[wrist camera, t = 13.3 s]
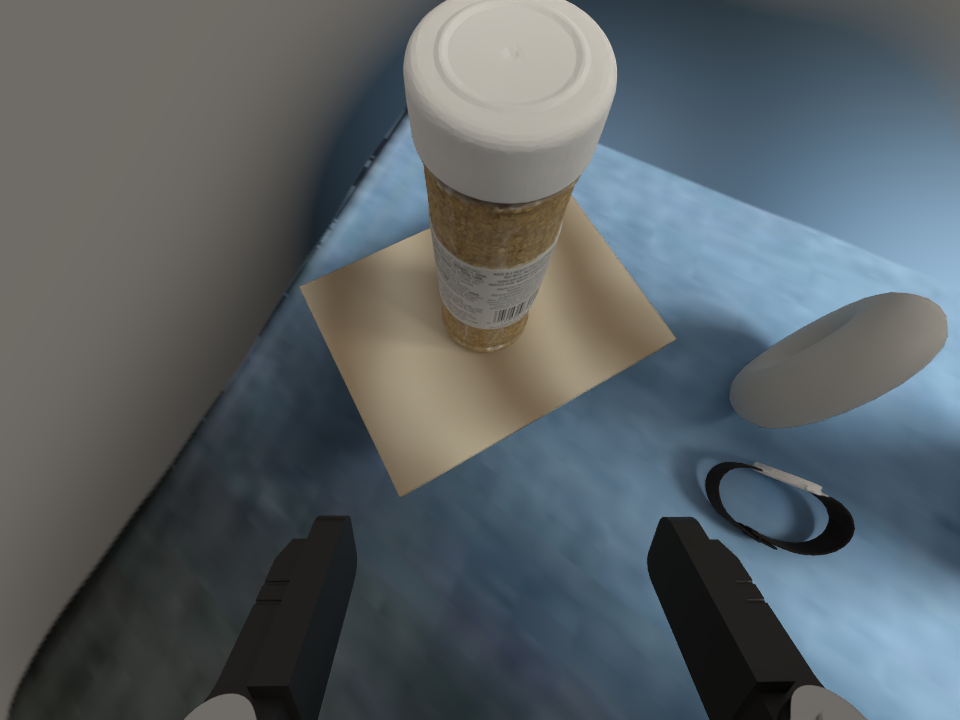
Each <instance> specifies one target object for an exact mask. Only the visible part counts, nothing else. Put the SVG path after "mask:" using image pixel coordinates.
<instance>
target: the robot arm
mask: <svg viewBox="0 0 960 720" xmlns="http://www.w3.org/2000/svg"><path fill="white" fill-rule="evenodd" d="M647 565H648V572H649V576H650V579H651V582H652V584H653V586H654V589H655V591H656V594H657V596H658V598H659V601H660V603H661V606H662V608H663V610H664V613H665V615H666V617H667V620H668V622H669V625H670V627H671V629H672V632H673V634H674V636H675V639H676V641H677V644H678V646H679V648H680V651H681V653H682V655H683V658H684V660H685V663H686V665H687V667H688V670H689V672H690V674H691V677H692V679H693V682H694V684H695V686H696V689H697V691H698V694H699V696H700V698H701V701H702V703H703V705H704V708H705V710H706V713H707V715H708V717H709V720H867V719H866V718H865V717H864V716H863V715H862V714H861V713H860V712H859V711H858V710H857V709H856V708H855V707H854V706H853V705H851V704H850V703H849V702H847V701H846V700H845V699H843V698H842V697H840V696H839V695H837V694H836V693H834V692H832V691H830V690H828V689H825V688H824V686H823V685H822V684H821V683H820V682H819V680H818V679H817V678H816V676H815V675H814V673H813V672H812V670H811V669H810V667H809V666H808V664H807V663H806V661H805V660H804V658H803V657H802V655H801V654H800V652H799V651H798V649H797V647H796V646H795V644H794V643H793V641H792V640H791V638H790V637H789V635H788V634H787V632H786V631H785V629H784V628H783V626H782V625H781V623H780V621H779V620H778V618H777V617H776V615H775V614H774V612H773V611H772V609H771V608H770V606H769V605H768V603H765V601H764V597H763V596H762V594H761V592H760V591H759V589H758V588H757V586H756V585H755V584H753V583H752V579H751V577H750V576H749V574H748V573H747V571H746V570H745V568H744V567H743V565H742V563H741V562H740V560H739V559H738V558H737V557H736V556H735V555H734V554H733V553H732V552H731V551H730V550H729V549H728V548H726V547H725V546H724V545H723V544H722V543H721V542H720V541H719V540H709V538H708V536H707V535H706V533H705V532H704V530H703V528H702V527H701V525H700V524H699V522H698V521H697V520H696V519H695V518H693V517H662V518H661V519H660V521H659V523H658V526H657V529H656V532H655V535H654V538H653V541H652V544H651V546H650V549H649V552H648V557H647ZM356 568H357V552H356V546H355V541H354V535H353V529H352V523H351V518H350V516H318V517H317V518H316V520H315V521H314V523H313V526H312V528H311V531H310V533H309V536H308V538H307V539H293V540H292V541H291V542H290V543H289V544H288V545H287V546H286V547H285V548H284V549H283V551H282V552H281V553H280V554H279V555H278V556H277V557H276V558H275V560H274V563H273V565H272V567H271V569H270V571H269V573H268V575H267V577H266V580H265V584H264V585H263V586H262V588H261V590H260V592H259V594H258V597H257V599H256V603H255V605H253V607H252V609H251V611H250V614H249V616H248V618H247V620H246V622H245V624H244V626H243V628H242V631H241V633H240V635H239V637H238V639H237V641H236V643H235V645H234V648H233V650H232V652H231V654H230V656H229V658H228V660H227V662H226V665H225V667H224V669H223V671H222V673H221V675H220V677H219V679H218V681H217V683H216V685H215V687H214V689H213V690H212V691H211V693H210V694H209V696H208V697H207V698H206V700H205V701H204V702H203V703H202V704H201V705H200V706H199V707H197V708H196V709H195V710H194V711H192V712H191V713H190V714H189V715H188V716H187V717H186V718H185V719H184V720H318V716H319V712H320V709H321V705H322V701H323V697H324V694H325V690H326V686H327V682H328V678H329V675H330V671H331V667H332V663H333V659H334V656H335V652H336V648H337V644H338V641H339V637H340V633H341V629H342V625H343V622H344V618H345V614H346V610H347V607H348V603H349V599H350V595H351V591H352V588H353V584H354V580H355V575H356Z"/></svg>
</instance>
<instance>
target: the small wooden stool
mask: <svg viewBox="0 0 960 720" xmlns="http://www.w3.org/2000/svg"><path fill="white" fill-rule="evenodd" d="M300 289H301V292H302V294H303V296H304V298H305V300H306V302H307V304H308V306H309V308H310V310H311V312H312V315H313V317H314V319H315V321H316V323H317V325H318V327H319V329H320V331H321V333H322V335H323V338H324V340H325V342H326V344H327V346H328V348H329V350H330V352H331V354H332V356H333V358H334V361H335V363H336V365H337V367H338V369H339V371H340V373H341V375H342V377H343V379H344V381H345V384H346V386H347V388H348V390H349V392H350V394H351V396H352V398H353V400H354V402H355V404H356V407H357V409H358V411H359V413H360V415H361V417H362V419H363V421H364V423H365V425H366V427H367V430H368V432H369V434H370V436H371V438H372V440H373V442H374V444H375V446H376V448H377V450H378V453H379V455H380V457H381V459H382V461H383V463H384V465H385V467H386V469H387V471H388V473H389V476H390V478H391V480H392V482H393V484H394V486H395V488H396V490H397V492H398V494H399V496H400V497H401V496H405V495H406V494H408V493H410V492H412V491H413V490H415V489H417V488H419V487H420V486H422V485H424V484H426V483H427V482H429V481H431V480H433V479H434V478H436V477H438V476H440V475H441V474H443V473H445V472H447V471H448V470H450V469H452V468H454V467H455V466H457V465H459V464H461V463H462V462H464V461H466V460H468V459H469V458H471V457H473V456H475V455H476V454H478V453H480V452H482V451H483V450H485V449H487V448H489V447H490V446H492V445H494V444H496V443H497V442H499V441H501V440H503V439H504V438H506V437H508V436H510V435H511V434H513V433H515V432H517V431H518V430H520V429H522V428H524V427H525V426H527V425H529V424H531V423H532V422H534V421H536V420H538V419H539V418H541V417H543V416H545V415H546V414H548V413H550V412H552V411H553V410H555V409H557V408H559V407H560V406H562V405H564V404H566V403H567V402H569V401H571V400H573V399H575V398H576V397H578V396H580V395H582V394H583V393H585V392H587V391H589V390H590V389H592V388H594V387H596V386H597V385H599V384H601V383H603V382H604V381H606V380H608V379H610V378H611V377H613V376H615V375H617V374H618V373H620V372H622V371H624V370H625V369H627V368H629V367H631V366H632V365H634V364H636V363H638V362H639V361H641V360H643V359H645V358H646V357H648V356H650V355H652V354H653V353H655V352H657V351H659V350H660V349H662V348H664V347H665V346H667V345H668V344H670V343H671V342H673V341H674V340H676V337H675V336H674V335H673V333H672V332H671V331H670V329H669V328H668V326H667V325H666V324H665V322H664V321H663V320H662V318H661V317H660V315H659V314H658V313H657V311H656V310H655V309H654V307H653V306H652V305H651V303H650V302H649V300H648V299H647V298H646V296H645V295H644V294H643V292H642V291H641V289H640V288H639V287H638V285H637V284H636V283H635V281H634V280H633V279H632V277H631V276H630V274H629V273H628V272H627V270H626V269H625V268H624V266H623V265H622V263H621V262H620V261H619V259H618V258H617V257H616V255H615V254H614V253H613V251H612V250H611V248H610V247H609V246H608V244H607V243H606V242H605V240H604V239H603V237H602V236H601V235H600V233H599V232H598V231H597V229H596V228H595V226H594V225H593V224H592V222H591V221H590V220H589V218H588V217H587V216H586V214H585V213H584V211H583V210H582V209H581V207H580V206H579V205H578V203H577V202H576V200H575V199H574V198H573V196H572V195H571V197H570V200H569V203H568V205H567V208H566V211H565V214H564V217H563V222H562V228H561V232H560V235H559V238H558V240H557V243H556V246H555V248H554V251H553V254H552V257H551V259H550V262H549V265H548V267H547V270H546V273H545V275H544V278H543V280H542V283H541V286H540V288H539V291H538V293H537V296H536V299H535V301H534V303H533V305H532V307H531V308H530V310H529V312H528V314H529V316H528V321H527V323H526V326H525V329H524V331H523V333H522V334H521V336H520V337H519V338H518V339H517V340H516V341H515V342H514V343H513V344H511V345H509V346H507V347H506V348H504V349H502V350H498V351H496V352H489V353H486V352H476V351H472V350H469V349H466V348H464V347H461V346H460V345H459V344H458V343H457V342H456V341H454V340H453V339H452V338H451V336H450V335H449V333H448V332H447V330H446V328H445V325H444V323H443V321H442V304H443V303H442V298H441V295H440V291H439V285H438V278H437V271H436V264H435V257H434V250H433V243H432V236H431V229H430V228H429V229H427V230H424V231H422V232H420V233H418V234H416V235H413V236H411V237H409V238H407V239H404V240H402V241H400V242H398V243H396V244H393V245H391V246H389V247H387V248H384V249H382V250H380V251H378V252H376V253H373V254H371V255H369V256H367V257H365V258H362V259H360V260H358V261H356V262H353V263H351V264H349V265H347V266H345V267H342V268H340V269H338V270H336V271H333V272H331V273H329V274H327V275H325V276H322V277H320V278H318V279H316V280H313V281H311V282H309V283H307V284H305V285H302V286H300Z"/></svg>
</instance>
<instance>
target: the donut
mask: <svg viewBox="0 0 960 720" xmlns="http://www.w3.org/2000/svg"><path fill="white" fill-rule="evenodd" d="M947 337H948V325H947V317H946V315H945V313H944V312H943V310H942V309H941V307H940V306H939V305H937V304H936V303H934V302H933V301H931V300H930V299H928V298H925V297H921V296H918V295H915V294H908V293H896V292H890V293H884V294H879V295H875V296H871V297H867V298H864V299H861V300H859V301H856V302H854V303H851V304H849V305H846V306H844V307H842V308H840V309H838V310H836V311H833V312H831V313H829V314H827V315H825V316H823V317H821V318H819V319H818V320H816V321H814V322H812V323H810V324H808V325H806V326H804V327H803V328H801V329H799V330H798V331H796V332H794V333H792V334H791V335H789V336H787V337H786V338H784V339H783V340H781V341H779V342H778V343H776V344H775V345H773V346H772V347H770V348H769V349H767V350H766V351H764V352H763V353H762V354H760V355H759V356H757V357H756V358H755V359H753V360H752V361H751V362H750V363H748V364H747V365H746V366H745V367H744V368H742V370H741V371H740V372H739V373H738V374H737V375H736V377H735V378H734V380H733V381H732V384H731V390H730V395H729V397H730V402H731V405H732V407H733V409H734V410H735V412H736V413H737V414H738V415H739V416H740V417H742V418H743V419H745V420H747V421H749V422H751V423H753V424H755V425H757V426H759V427H764V428H770V429H776V428H792V427H798V426H803V425H807V424H811V423H816V422H820V421H823V420H825V419H828V418H831V417H834V416H837V415H840V414H843V413H846V412H848V411H850V410H852V409H854V408H857V407H859V406H861V405H863V404H866V403H868V402H870V401H872V400H874V399H876V398H878V397H880V396H882V395H883V394H885V393H887V392H889V391H891V390H892V389H894V388H896V387H898V386H899V385H901V384H903V383H904V382H905V381H907V380H908V379H910V378H911V377H912V376H914V375H915V374H916V373H918V372H919V371H921V370H922V369H923V368H924V367H925V366H926V365H927V364H929V363H930V362H931V361H932V359H933V358H934V357H935V356H936V355H937V354H938V353H939V351H940V350H941V349H942V348H943V347H944V344H945V342H946V339H947Z"/></svg>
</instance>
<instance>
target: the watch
mask: <svg viewBox="0 0 960 720" xmlns="http://www.w3.org/2000/svg"><path fill="white" fill-rule="evenodd" d="M740 467H742V468H751V469H753V470H755V471H757V472H759V473H761V474H764V475H766V476H769V477H772V478H774V479H777V480H779V481H782V482H784V483H787V484H789V485H792V486H794V487H797V488H800V489H802V490H805V491H808V492H810V493H811V494H813V495H814V496H816V497H817V498H818V499H819V500H820V501H821V502H822V503H823V504H824V506H825V507H826V509H827V512H828V515H829V522H828V524H827V527H826V529H825V530H824V532H823V533H822V534H821V535H819V536H818V537H816V538H814V539H812V540H810V541H805V542H800V543H789V542H782V541H778V540H775V539H771V538H769V537H767V536H764V535H762V534H760V533H758V532H757V531H755V530H753V529H752V528H750V527H748V526H745V525H743V524H741V523H738V522H736V521H735V520H734V519H733V518H732V517H731V516H730V515H729V514H728V513H727V512H726V510H725V508H724V506H723V505H722V502H721V499H720V495H719V485H720V481H721V479H722V477H723V476H724V475H725V474H726V473H727V472H728V471H729V470H732V469H734V468H740ZM705 488H706V493H707V496H708V499H709V501H710V503H711V504H712V506H713V507H714V508H715V509H716V511H717V512H718V513H719V514H720V515H722V516H723V517H724V518H725V519H726V520H728V521H729V522H730V523H732V524H733V525H734V526H736V527H737V528H739V529H740V530H742V531H743V532H744V533H745V534H747V535H748V536H750V537H751V538H753V539H755V540H756V541H758V542H761V543H763V544H765V545H767V546H769V547H771V548H773V549H776V550H777V548H776V547H775V546H777V547H780V548H782V549H785V550H787V551H790V552H793V553H797V554H803V555H813V556H815V555H825V554H829V553H832V552H836V551H837V550H839V549H841V548H843V547H844V546H845V545H847V544H848V543H849V542H850V540H851V538H852V537H853V535H854V530H855V527H854V520H853V518H852V516H851V514H850V512H849V511H848V510H847V509H846V508H845V507H844V506H843V505H842V504H841V503H840V502H838V501H837V500H835V499H834V498H832V497H829V496H828V495H826V494H824V493H822V491H821V489H822V487H821V486H819V485H817V484H815V483H812V482H810V481H807V480H805V479H802V478H800V477H797V476H795V475H792V474H789V473H787V472H784V471H781V470H779V469H776V468H773V467H770V466H767V465H764V464H761V463H758V462H755V463H754V465H751V464H744V463H737V462H724V463H720V464H718V465H716V466H714V467H713V468H712V469H711V470H710V471H709V473H708V474H707V477H706V482H705ZM744 528H745V529H744ZM747 530H748V531H750V532H751V533H750V532H748V531H747ZM752 533H753V534H752ZM770 543H771V544H770ZM772 544H773V545H775V546H773V545H772Z"/></svg>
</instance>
